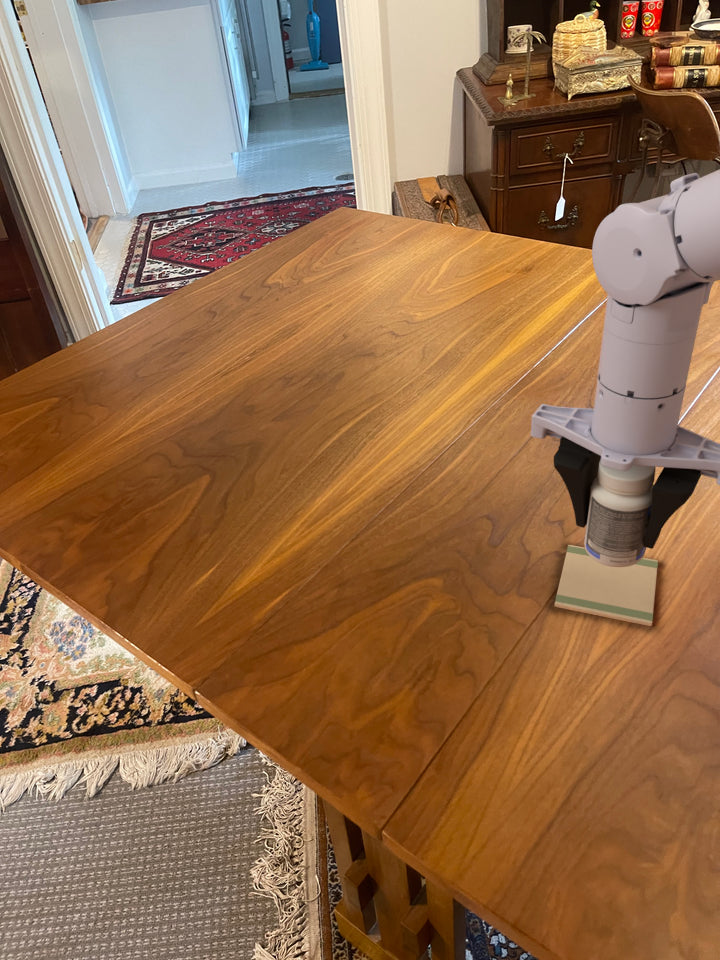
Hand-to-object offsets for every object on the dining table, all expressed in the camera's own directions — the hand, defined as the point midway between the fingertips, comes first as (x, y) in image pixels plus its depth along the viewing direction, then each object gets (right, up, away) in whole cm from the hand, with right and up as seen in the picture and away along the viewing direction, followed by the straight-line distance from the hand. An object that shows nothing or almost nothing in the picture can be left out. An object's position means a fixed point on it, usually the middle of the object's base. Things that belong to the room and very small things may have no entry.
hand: (616, 529), depth 58 cm
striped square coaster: (+2, -5, +8) cm, 10 cm away
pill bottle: (0, -2, +1) cm, 2 cm away
